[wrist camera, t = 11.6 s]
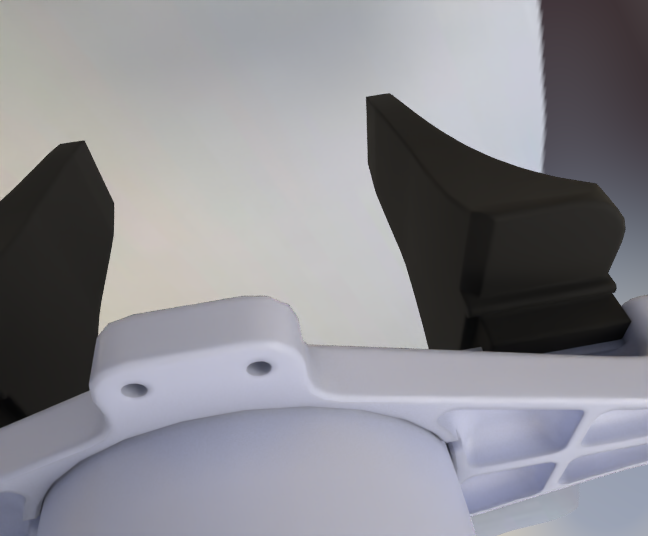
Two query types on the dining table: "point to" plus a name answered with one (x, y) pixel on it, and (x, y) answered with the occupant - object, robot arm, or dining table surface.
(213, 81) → the dining table surface
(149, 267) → the dining table surface
